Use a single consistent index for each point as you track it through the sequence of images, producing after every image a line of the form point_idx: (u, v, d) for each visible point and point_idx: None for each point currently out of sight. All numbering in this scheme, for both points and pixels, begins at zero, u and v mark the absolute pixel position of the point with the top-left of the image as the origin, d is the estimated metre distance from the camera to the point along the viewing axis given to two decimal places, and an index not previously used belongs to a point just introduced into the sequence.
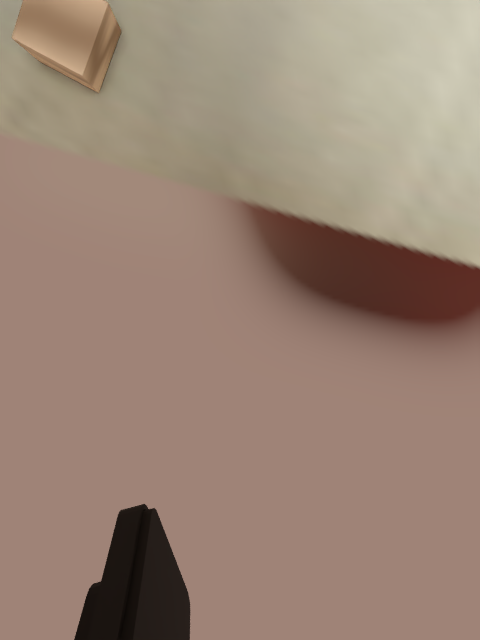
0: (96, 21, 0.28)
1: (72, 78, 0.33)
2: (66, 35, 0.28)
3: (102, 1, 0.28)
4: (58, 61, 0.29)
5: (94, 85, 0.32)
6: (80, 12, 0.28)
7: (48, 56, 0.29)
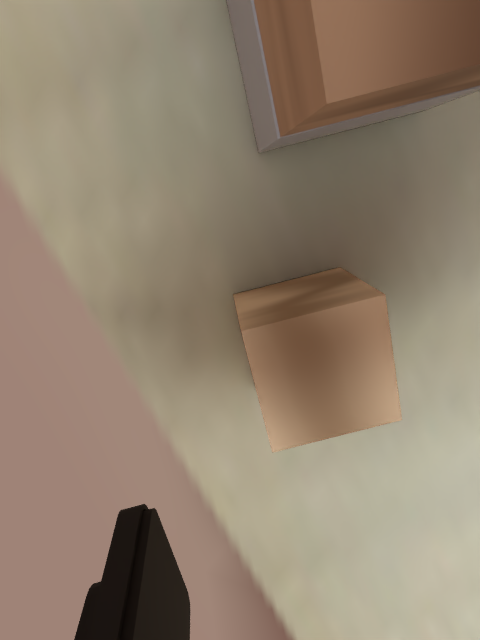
0: (363, 422, 0.15)
1: None
2: (312, 398, 0.15)
3: (398, 411, 0.15)
4: (264, 412, 0.15)
5: None
6: (360, 395, 0.15)
7: (259, 395, 0.15)
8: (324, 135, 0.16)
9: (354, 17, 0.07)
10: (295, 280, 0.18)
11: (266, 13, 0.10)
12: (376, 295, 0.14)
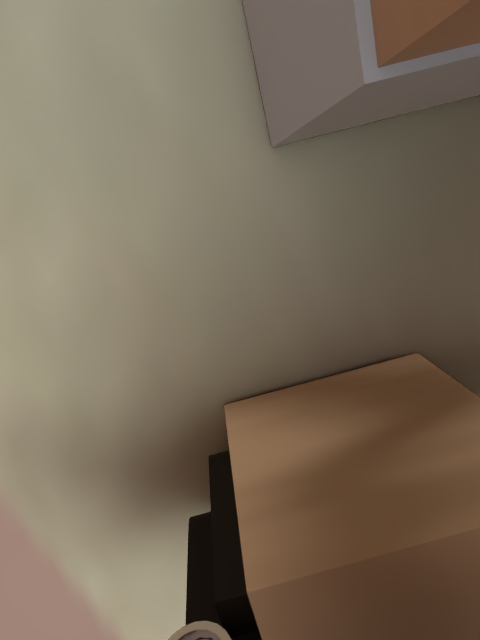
0: None
1: None
2: None
3: None
4: None
5: None
6: None
7: None
8: (404, 112, 0.08)
9: None
10: (338, 380, 0.10)
11: None
12: None
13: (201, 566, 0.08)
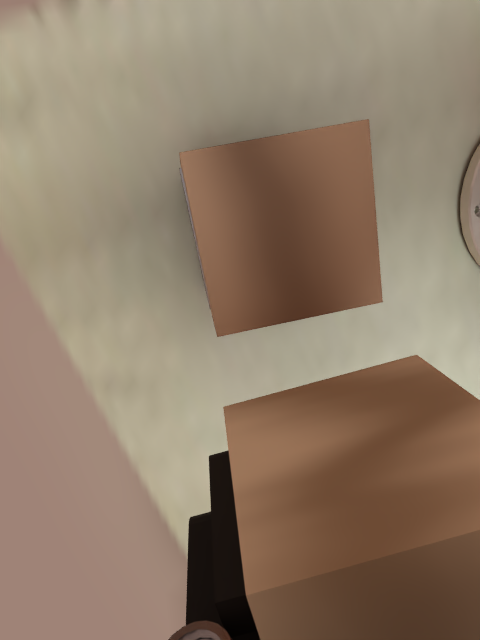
0: None
1: None
2: None
3: None
4: None
5: None
6: None
7: None
8: None
9: (228, 305, 0.16)
10: (338, 382, 0.10)
11: None
12: None
13: (201, 566, 0.08)
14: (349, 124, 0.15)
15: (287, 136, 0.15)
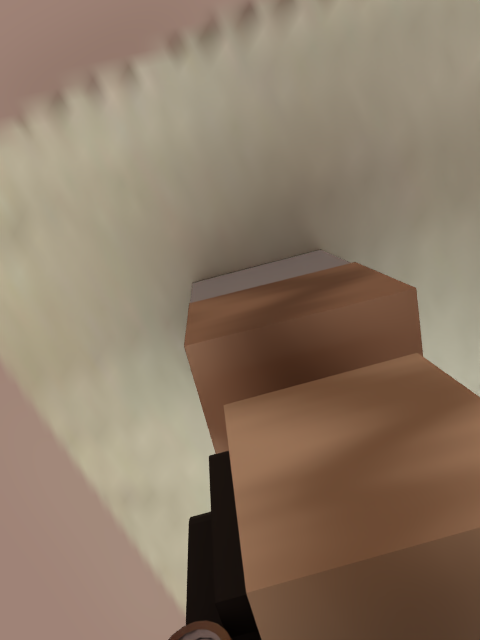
0: None
1: None
2: None
3: None
4: None
5: None
6: None
7: None
8: None
9: None
10: (338, 380, 0.10)
11: None
12: None
13: (201, 566, 0.08)
14: (392, 296, 0.12)
15: (315, 316, 0.12)
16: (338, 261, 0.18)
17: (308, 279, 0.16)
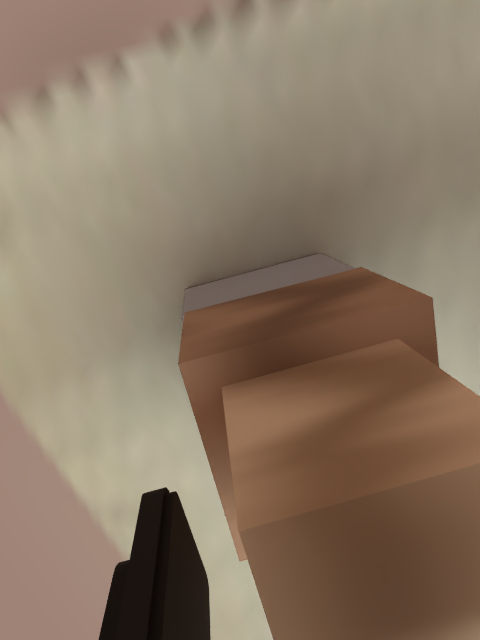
0: None
1: None
2: (384, 639, 0.07)
3: None
4: None
5: None
6: (478, 626, 0.07)
7: None
8: None
9: None
10: (325, 364, 0.11)
11: None
12: None
13: (116, 626, 0.07)
14: (406, 306, 0.11)
15: (322, 329, 0.11)
16: (340, 266, 0.17)
17: (312, 286, 0.15)
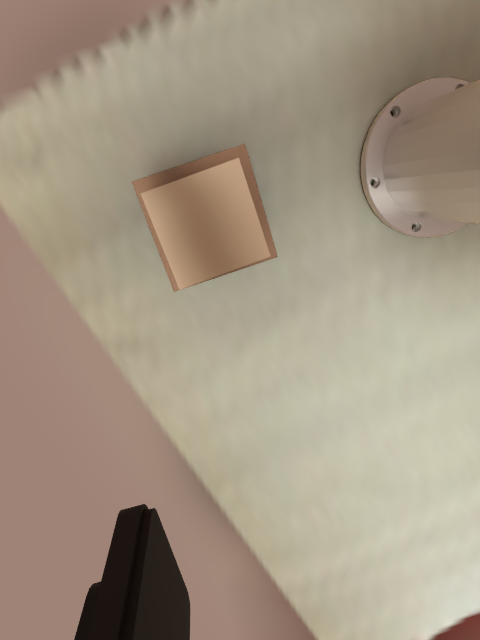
0: (242, 260, 0.21)
1: None
2: (201, 243, 0.20)
3: (266, 250, 0.21)
4: (168, 256, 0.20)
5: None
6: (236, 238, 0.21)
7: (162, 243, 0.20)
8: None
9: None
10: None
11: None
12: None
13: None
14: (233, 148, 0.24)
15: (195, 162, 0.24)
16: None
17: None
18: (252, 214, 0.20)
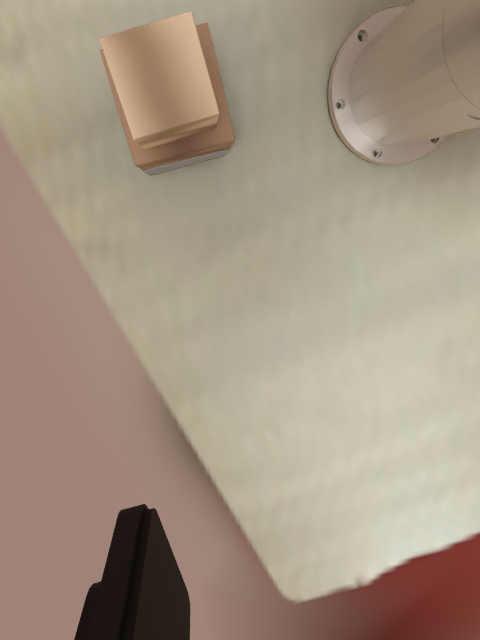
0: (193, 114, 0.23)
1: None
2: (154, 94, 0.22)
3: (215, 106, 0.23)
4: (123, 105, 0.22)
5: (144, 146, 0.26)
6: (187, 92, 0.22)
7: (118, 91, 0.22)
8: (178, 167, 0.37)
9: None
10: None
11: None
12: (186, 13, 0.21)
13: None
14: (196, 26, 0.26)
15: None
16: None
17: None
18: (203, 69, 0.22)
